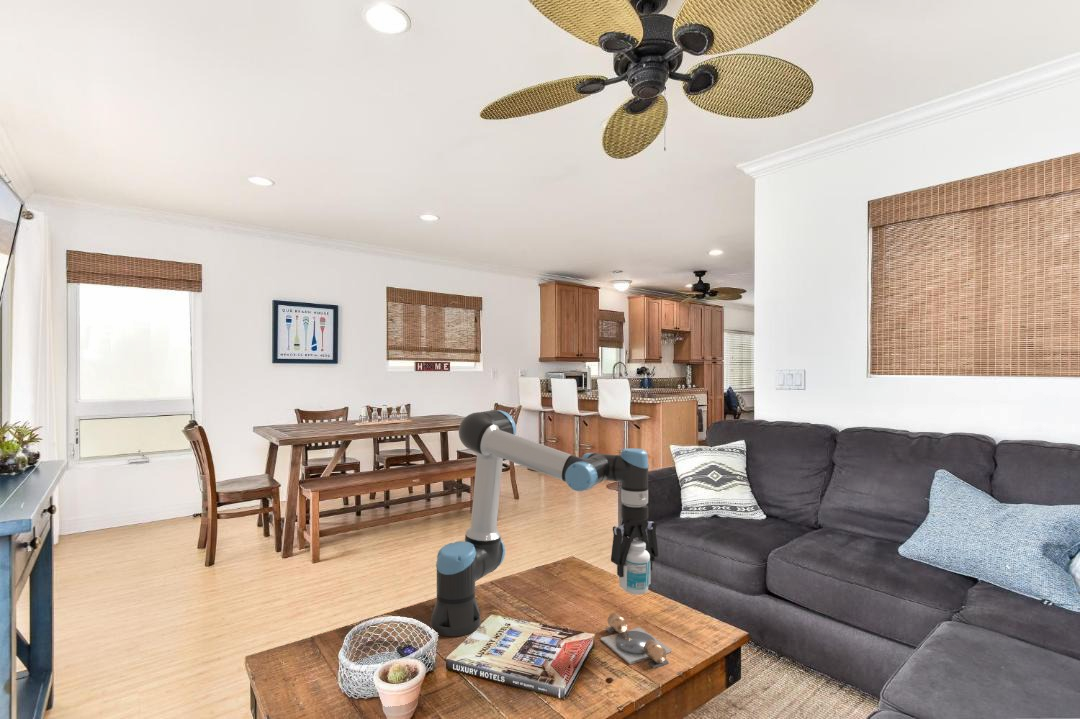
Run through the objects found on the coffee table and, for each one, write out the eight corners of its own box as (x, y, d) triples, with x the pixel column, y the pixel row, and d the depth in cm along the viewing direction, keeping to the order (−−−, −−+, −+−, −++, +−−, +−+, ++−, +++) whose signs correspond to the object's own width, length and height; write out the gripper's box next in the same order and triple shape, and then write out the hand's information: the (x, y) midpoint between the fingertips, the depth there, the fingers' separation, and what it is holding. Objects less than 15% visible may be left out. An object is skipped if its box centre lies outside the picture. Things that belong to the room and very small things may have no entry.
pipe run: (593, 633, 154) (593, 617, 154) (631, 623, 160) (631, 608, 160) (639, 672, 134) (639, 654, 134) (681, 659, 140) (681, 642, 140)
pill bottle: (630, 580, 153) (633, 535, 152) (652, 589, 148) (656, 543, 147) (616, 588, 147) (619, 542, 146) (638, 599, 142) (641, 550, 141)
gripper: (612, 511, 140) (612, 597, 139) (671, 503, 149) (672, 583, 148) (597, 504, 147) (597, 586, 146) (654, 497, 156) (655, 574, 155)
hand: (634, 585), depth 147 cm, fingers closed on pill bottle, 7 cm apart
